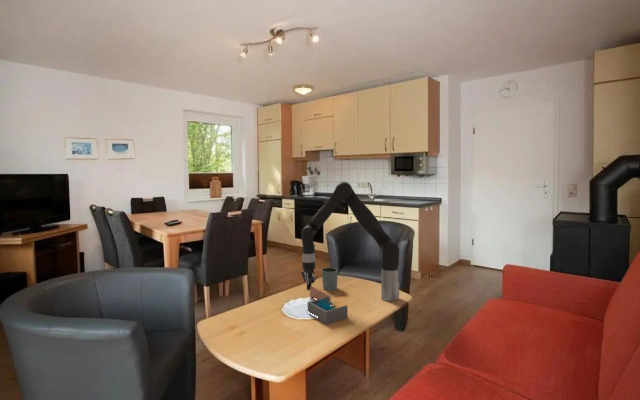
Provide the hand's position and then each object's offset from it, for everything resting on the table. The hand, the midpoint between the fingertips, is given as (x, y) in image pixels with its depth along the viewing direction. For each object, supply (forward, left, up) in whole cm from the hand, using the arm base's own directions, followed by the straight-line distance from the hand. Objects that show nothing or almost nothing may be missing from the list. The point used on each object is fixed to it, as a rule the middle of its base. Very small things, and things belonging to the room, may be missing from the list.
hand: (309, 289), depth 202 cm
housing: (+7, +28, -4) cm, 29 cm away
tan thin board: (0, +11, -4) cm, 12 cm away
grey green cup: (-18, -4, -4) cm, 19 cm away
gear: (+8, +28, -4) cm, 29 cm away
